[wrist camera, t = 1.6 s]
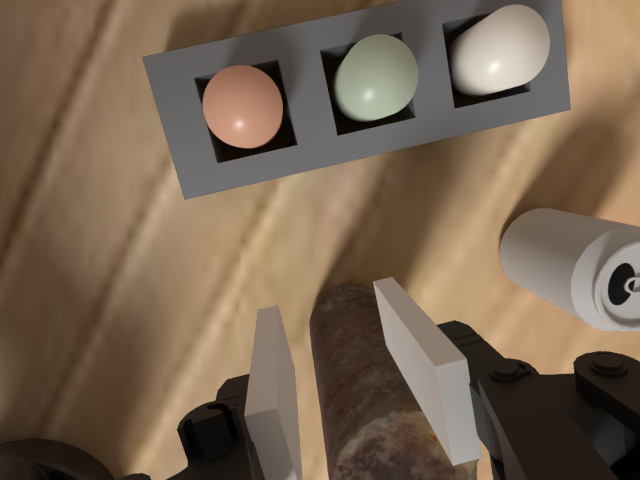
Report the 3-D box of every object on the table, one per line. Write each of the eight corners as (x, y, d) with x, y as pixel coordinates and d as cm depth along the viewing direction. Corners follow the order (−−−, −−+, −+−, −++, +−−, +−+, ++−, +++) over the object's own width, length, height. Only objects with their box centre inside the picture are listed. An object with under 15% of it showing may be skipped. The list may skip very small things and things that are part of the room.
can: (500, 204, 37) (600, 228, 26) (578, 208, 38) (710, 232, 26) (488, 285, 39) (579, 341, 27) (564, 286, 40) (683, 342, 28)
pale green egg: (339, 128, 32) (350, 124, 27) (325, 61, 31) (334, 43, 26) (401, 114, 33) (424, 107, 28) (389, 46, 32) (411, 26, 27)
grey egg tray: (195, 194, 35) (184, 199, 31) (158, 68, 32) (142, 57, 29) (539, 114, 36) (570, 109, 32) (526, -12, 34) (558, -34, 30)
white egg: (450, 103, 33) (482, 94, 28) (440, 35, 32) (471, 13, 27) (511, 89, 33) (553, 77, 28) (503, 21, 32) (545, -3, 27)
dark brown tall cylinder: (295, 346, 38) (312, 546, 19) (318, 271, 37) (362, 402, 18) (374, 364, 39) (467, 571, 20) (398, 292, 38) (523, 437, 19)
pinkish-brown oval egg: (225, 154, 32) (215, 155, 27) (207, 87, 31) (192, 74, 26) (289, 140, 32) (290, 138, 27) (273, 72, 31) (272, 57, 26)
